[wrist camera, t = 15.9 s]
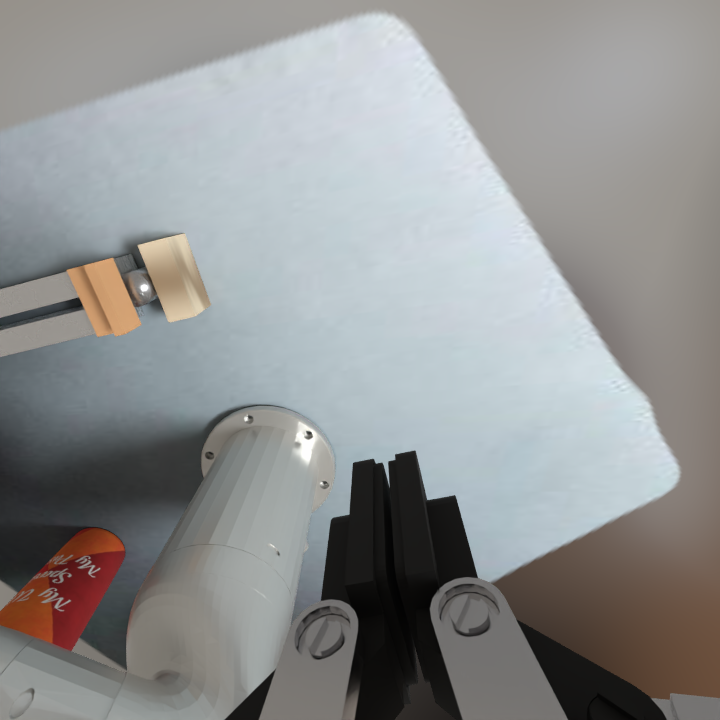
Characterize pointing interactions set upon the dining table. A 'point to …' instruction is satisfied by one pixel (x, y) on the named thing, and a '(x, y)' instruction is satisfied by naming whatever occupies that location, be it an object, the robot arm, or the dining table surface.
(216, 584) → the robot arm
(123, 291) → the tab
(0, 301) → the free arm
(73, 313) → the bar
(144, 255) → the hinge block
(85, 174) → the dining table surface
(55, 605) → the paper cup
